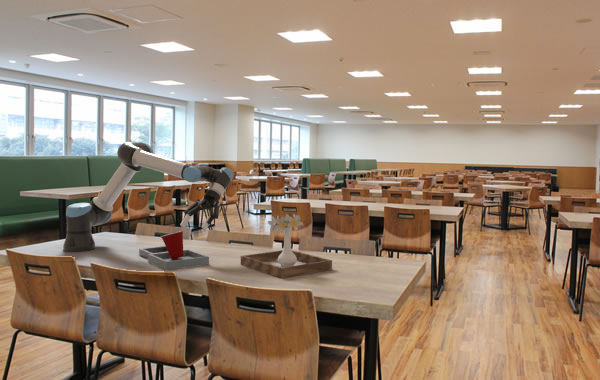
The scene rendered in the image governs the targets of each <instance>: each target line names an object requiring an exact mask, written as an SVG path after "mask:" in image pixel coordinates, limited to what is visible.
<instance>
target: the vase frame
mask: <svg viewBox="0 0 600 380" xmlns="http://www.w3.org/2000/svg"><path fill="white" fill-rule="evenodd" d="M282 251H283V249H281V250H275V251H267V252H259V253H250V254H246V255H245V254H244V255H240V265H241V266H244V267H247V268H250V269H252V270H257V271H259V272H261V273H265V274H267V275H271V276H273V277H277V278H279V279H280V278H281V279H285V278H286V279H287V278H292V277H297V276H302V275H308V274H313V273H319V272H324V271H330V270H333V260H332V259H328V258H325V257H320V256H317V255H313V254H309V253H305V252H301V251H297V250H293V249H292V252H293V253H294V255H295V256H296V257H297V262H302V263H303V264H297V265H296V264H295V265H294V266H290V267H284V268H282V267H281V266H278V265H276V264H271V263H268V262H271V261H272V262H273V261H277V259H278V256H279V255H280V254H281V253H282Z"/></svg>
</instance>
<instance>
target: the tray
mask: <svg viewBox="0 0 600 380" xmlns="http://www.w3.org/2000/svg"><path fill="white" fill-rule="evenodd" d="M183 253H184V255H183V257H180V258H176V259H171V257H170V255H169V252H163V253H155V254H148V259H147V262H148V263H150V264H152V265H154V266H156V267H159V268H161V269H163V270H165V271H171V270H176V269H177V270H179V269H184V267H185V268H191V267H198V266H199V267H200V266H205V265H210V256H209V255H206V254H203V253H201V252H198V251H195V250H192V249H183Z"/></svg>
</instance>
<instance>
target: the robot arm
mask: <svg viewBox="0 0 600 380" xmlns="http://www.w3.org/2000/svg"><path fill="white" fill-rule="evenodd" d="M116 153H117V155H116V156H117V158H118V160H119V162H121V163H120V165H119V166H118V168H116V170H115V172H114V173H113V175H112V176H111V178H110V179H109V181H108V182H107V183H106V185H105V186H104V188H103V189H102V190H101V192H100V194H99V195H98V196H95V197H93V198H92V200H91V201H90V203H89V202H78V203H72V204H70V205H68V206H66V212H65V215H66V217H65V219H66V237H65V240H64V241H63V242H64V243H63V245H62V247H63V251H65V252H86V251H87V252H88V251H91V250H95V249H96V242H95V240H94V237H93V233H92V227H94V226H95V227H96V226H102V225H104V224H107V223H108V222H110V220H111V219H112V215H113V213H112V212H113V210H114V204H115V202H116V201H117V200H118V198H119V197H120V195H121V194H122V192H123V191H124V190H125V188H126V187H127V186H128V184H129V183H130V181H131V180H132V178H133V177H134V175H136V173H140V172H141V171H142V169H144V168H146V169H150V170H153V171H156V172H159V173H163V174H167V175H169V176H174V177H176V178H180V179H183V180H185V181H186V182H189V183H196V182H207V183H210V186H209V187H208V188H207V190H206V192H205V193H204V194H203V198H202V200H201V199H199V198H198V199H196V200H195V202H194V203H192V204H191V205H190V206H189V207H188V208H187V209H185V210H184V211H183V213H184V214H185V215H184V217H183V218H182V221H181V223H180V224H179V225H180V227H181V228H182V229H185V228H186V227H187V225H188V223H189V222H190V220H191V217H192V216H194V215H195V214H197V213H199V212H200V211H203V210H207V211H208V212H209V216H207V217H206V219H205V220H204V223H203V224H202V226H201V228H202V230H203V231H204V232H206V231H207V229H208V228H209V226H210V225H211V224H212V222H213V221H214V220H215V219H216V220H217V219H219V216H220V215H219V214H220V207H221V205H222V204H221V202H220V200H221V198H222V196H223V195H224V193H225V192H226V190H227V188H228V187H229V185H230V184H231V183H232V180H233V179H234V176H235V175H234V171H232V169H230V168H229V167H221V168H220V169H217V168H216V169H215V168H213V167H211V166H208V165H206V164H202V163H196V165H193V164H188V163H185V162H183V161H179V160H175V159H171V158H168V157H165V156H162V155H158V154H155V153H154V150H153V148H152V147H151V146H150V145H149V144H148V143H145V142H142V141H141V142H135V141H134V142H132V141H125V142H123V143H122V144H120V146H119V147H118V148H117V152H116Z"/></svg>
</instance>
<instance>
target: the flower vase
mask: <svg viewBox="0 0 600 380" xmlns="http://www.w3.org/2000/svg"><path fill="white" fill-rule="evenodd" d="M292 215H293V217H292V216H289V214H288V213H287V214H286V215H285V216H281V217H280V216H279V215H277V217H276V218H275V217H274V215H272V216H271V220H268V221H267V224H268V225H269V226H270V228H269V229H270V232H273V231H274V230H275V231H276V232H278V231H280V233H281V234H282V233H283V234H284V240H283V247H282V248H283V249H282V250H283V251H282V253H281V254H280V255H279V256H278V259H277V260H276V261H277V263H278V264H279V265H280V267H282V268H284V267H290V266H295V265H296V264H297V262H298V261H297V257H296V256H295V255H294V253H293V252H292V250H293V249H292V243H291V240H292V239H291V235H292V231H293V229H294V230H295V231H297V232H298V230H299V229H301V227H304V223H303V222H302V221H301V217H300V215H298V214H294V213H293V214H292Z"/></svg>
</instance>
